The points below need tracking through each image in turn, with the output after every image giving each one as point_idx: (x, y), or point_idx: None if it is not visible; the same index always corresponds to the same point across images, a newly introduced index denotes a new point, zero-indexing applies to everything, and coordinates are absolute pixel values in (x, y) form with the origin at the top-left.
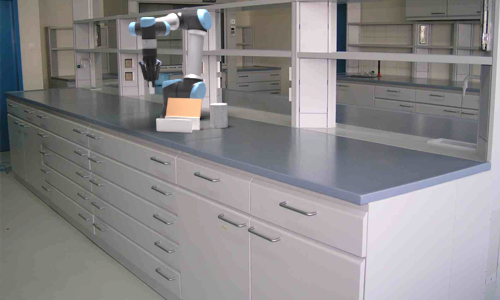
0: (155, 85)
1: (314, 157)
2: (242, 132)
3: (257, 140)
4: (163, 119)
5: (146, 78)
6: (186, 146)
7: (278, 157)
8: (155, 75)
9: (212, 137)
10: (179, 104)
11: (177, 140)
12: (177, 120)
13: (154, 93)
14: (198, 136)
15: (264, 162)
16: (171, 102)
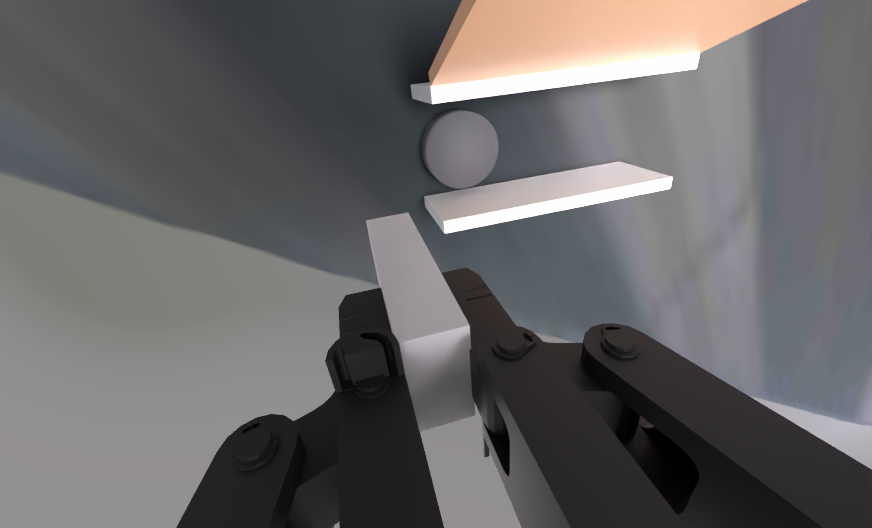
0: (484, 283)
1: None
2: (842, 42)
3: (866, 196)
4: (496, 222)
5: (331, 511)
6: None
7: (867, 345)
8: (683, 516)
9: (722, 221)
10: (603, 18)
11: None
12: (587, 202)
13: (407, 217)
14: (668, 229)
15: (834, 386)
16: (515, 16)
